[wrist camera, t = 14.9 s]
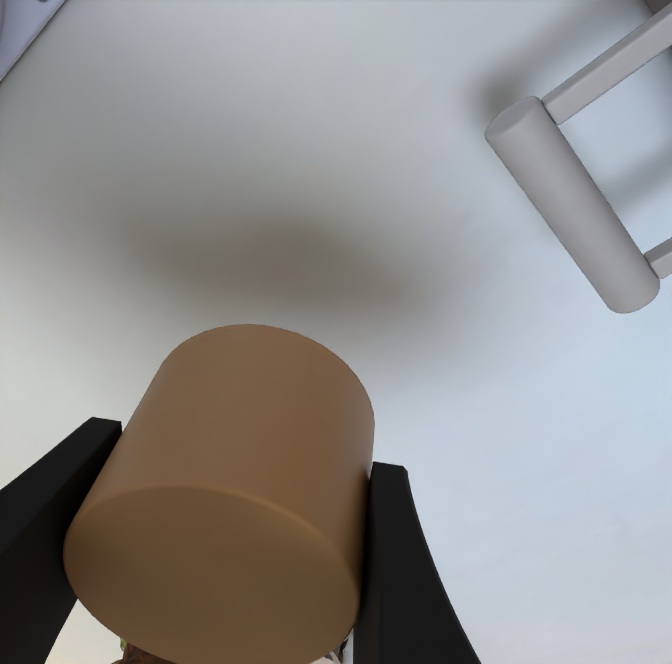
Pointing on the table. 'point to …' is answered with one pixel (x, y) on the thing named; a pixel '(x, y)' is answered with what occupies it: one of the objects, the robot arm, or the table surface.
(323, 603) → the brown cylinder block
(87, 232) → the table surface
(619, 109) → the table surface
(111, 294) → the table surface
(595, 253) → the brown box drawer
